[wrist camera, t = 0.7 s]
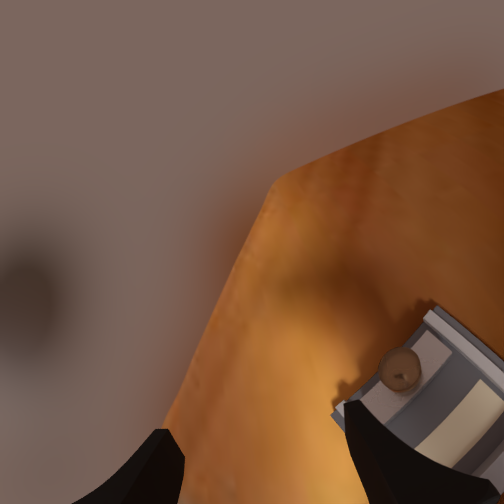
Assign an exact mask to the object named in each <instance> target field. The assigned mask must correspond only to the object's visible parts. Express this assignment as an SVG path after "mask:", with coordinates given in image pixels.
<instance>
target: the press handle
mask: <svg viewBox="0 0 504 504" xmlns="http://www.w3.org/2000/svg"><path fill="white" fill-rule="evenodd" d="M451 356H452V351H451V350H450V349H449V348H447V347H446V346H445V345H444V344H443V343H442V342H441V341H439V340H438V339H437V338H436V337H435V336H434V335H433V334H431V333H430V332H429V331H428V330H427V331H426V332H425V333H424V334H423V335H422V336H421V338H420V339H419V340H418V341H417V342H416V343H415V344H414V346H413V347H412V348H411V349H410V348H407V347H397V348H394V349H392V350H390V351H388V352H387V353H386V354H385V355H384V356H383V358H382V359H381V361H380V364H379V368H378V374H379V378H380V381H379V382H378V383H377V384H376V385H375V386H374V387H373V388H372V389H371V390H370V391H369V392H368V393H367V394H366V395H364V396H363V397H362V398H361V399H360V400H361V401H362V403H363V404H364V405H365V406H366V407H367V409H368V410H369V411H370V412H371V413H372V414H373V415H374V416H375V417H376V418H377V419H378V420H379V421H380V422H381V423H382V424H383V425H384V426H386V425H388V424H389V423H390V422H391V421H392V420H393V419H394V418H395V417H396V416H397V415H398V414H399V413H401V412H402V411H403V410H404V409H405V408H406V407H407V406H408V405H409V404H410V403H411V402H412V401H413V400H414V399H415V398H416V397H417V396H418V395H419V394H420V393H421V392H422V391H423V389H424V388H425V387H426V386H427V385H428V384H429V383H430V382H431V381H432V380H433V379H434V378H435V376H436V375H437V374H438V373H439V372H440V371H441V370H442V368H443V367H444V366H445V365H446V364H447V363H448V361H449V360H450V359H451Z"/></svg>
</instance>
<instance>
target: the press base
mask: <svg viewBox="0 0 504 504" xmlns="http://www.w3.org/2000/svg"><path fill="white" fill-rule="evenodd" d="M423 320H424V322H423V323H422V324H421V325H420V327H419V328H418V329H417V330H416V331H415V332H414V334H413V335H412V336H411V337H410V338H409V339H408V340H407V341H406V343H405V344H404V345H403V346H402V347H407V348H410V349H411V348H412V347H413V346H414V344H415V343H416V342H417V341H418V340H419V339H420V338H421V336H422V335H423V334H424V333H425V332H426V331H427V330H428V331H429V332H430V333H431V334H433V335H434V336H435V337H436V338H437V339H438V340H439V341H441V342H442V343H443V344H444V345H445V346H446V347H447V348H449V349H450V350H451V351H452V356H451V359H450V360H449V361H448V363H447V364H446V365H445V366H444V367H443V368H442V370H441V371H440V372H439V373H438V374H437V375H436V376H435V378H434V379H433V380H432V381H431V382H430V383H429V384H428V385H427V386H426V387H425V388H424V389H423V391H422V392H421V393H420V394H419V395H418V396H417V397H416V398H415V399H414V400H413V401H412V402H411V403H410V404H409V405H408V406H407V407H406V408H405V409H404V410H403V411H402V412H401V413H399V414H398V415H397V416H396V417H395V418H394V419H393V420H392V421H391V422H390V423H389V424H388V425H386V426H385V427H386V428H388V429H389V430H390V431H391V432H392V433H393V434H394V435H396V436H397V437H398V438H399V439H401V440H402V441H403V442H405V443H406V444H407V445H409V446H410V447H412V448H413V449H415V450H416V451H418V452H419V453H421V454H423V455H424V456H426V457H428V458H430V459H432V460H433V461H435V462H438V463H440V464H442V465H444V466H447V467H449V468H451V469H454V470H456V471H459V472H462V473H465V474H469V475H472V476H476V477H480V478H485V479H489V480H490V481H491V483H492V484H493V485H494V486H495V487H496V488H497V490H498V492H499V493H500V495H501V494H502V493H503V492H504V362H503V361H502V360H501V359H500V358H499V357H498V356H497V355H496V354H495V353H493V352H492V351H491V350H490V349H489V348H488V347H487V346H485V345H484V344H483V343H482V342H481V341H480V340H479V339H477V338H476V337H475V336H474V335H473V334H472V333H470V332H469V331H468V330H467V329H466V328H464V327H463V326H462V325H461V324H460V323H458V322H457V321H456V320H455V319H453V318H452V317H451V316H450V315H449V314H447V313H446V312H445V311H444V310H442V309H441V308H440V307H439V306H436V307H435V308H434V310H433V311H431V310H429V312H428V313H427V314H426V315H425V316H424V318H423ZM379 381H380V378H379V374H378V372H377V373H376V374H375V375H374V376H373V377H372V378H371V379H370V380H369V381H368V382H367V383H365V384H364V385H363V386H362V387H361V388H360V389H359V390H358V391H357V392H356V393H355V394H354V395H353V396H351V397H350V398H349V399H348V400H347V401H345V400H343V401H342V402H341V403H339V404H338V405H337V406H336V407H335V408H336V409H337V410H335V411H334V412H333V413H332V414H331V417H332V418H333V419H334V420H335V422H336V423H337V424H338V425H339V426H340V428H341V429H342V430H343V431H344V433H345V422H344V406H343V403H346V402H350V401H354V400H357V399H359V400H360V399H361V398H362V397H363V396H364V395H366V394H367V393H368V392H369V391H370V390H371V389H372V388H373V387H374V386H375V385H376V384H377V383H378V382H379Z"/></svg>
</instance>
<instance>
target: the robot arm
mask: <svg viewBox="0 0 504 504" xmlns="http://www.w3.org/2000/svg"><path fill="white" fill-rule="evenodd" d="M343 406H344V422H345V436H346V440H347V444H348V447H349V451H350V455H351V457H352V460H353V462H354V465H355V467H356V470H357V472H358V475H359V477H360V480H361V482H362V485H363V487H364V490H365V492H366V495H367V497H368V500H369V504H497V502H498V501H499V499H500V496H501V495H500V493H499V492H498V490H497V488H496V487H495V486H494V485H493V484H492V483H491V481H490V480H489V479H485V478H480V477H476V476H472V475H469V474H465V473H462V472H459V471H456V470H454V469H451V468H449V467H447V466H444V465H442V464H440V463H438V462H435V461H433V460H432V459H430V458H428V457H426V456H424V455H423V454H421V453H419V452H418V451H416V450H415V449H413V448H412V447H410V446H409V445H407V444H406V443H405V442H403V441H402V440H401V439H399V438H398V437H397V436H396V435H394V434H393V433H392V432H391V431H390V430H389V429H388V428H386V427H385V426H384V425H383V424H382V423H381V422H380V421H379V420H378V419H377V418H376V417H375V416H374V415H373V414H372V413H371V412H370V411H369V410H368V409H367V407H366V406H365V405H364V404H363V403H362V401H361V400H359V399H357V400H354V401H350V402H346V403H343ZM184 464H185V456H184V455H183V453H182V451H181V450H180V448H179V447H178V445H177V443H176V442H175V440H174V438H173V436H172V435H171V433H170V431H169V430H168V429H155V430H154V431H153V432H152V434H151V435H150V436H149V437H148V438H147V439H146V440H145V442H144V443H143V444H142V445H141V446H140V447H139V449H138V450H137V451H136V452H135V453H134V454H133V455H132V457H130V459H129V460H128V461H127V462H126V463H125V464H124V465H123V466H122V467H121V468H120V469H119V470H118V471H117V472H116V473H115V474H114V475H113V476H111V477H110V479H108V480H107V481H106V482H105V483H103V484H102V485H101V486H99V487H98V488H97V489H95V490H94V491H92V492H91V493H89V494H88V495H86V496H84V497H83V498H81V499H79V500H78V501H76V502H74V503H72V504H177V503H178V499H179V494H180V490H181V486H182V481H183V476H184Z"/></svg>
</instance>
